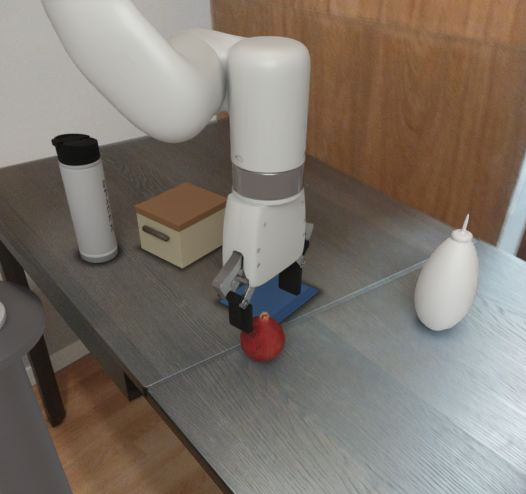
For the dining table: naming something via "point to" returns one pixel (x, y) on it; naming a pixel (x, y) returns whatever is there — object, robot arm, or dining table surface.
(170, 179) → the dining table surface
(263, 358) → the red pomegranate
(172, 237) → the bin
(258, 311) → the cloth
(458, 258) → the white air blower bulb
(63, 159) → the travel mug
